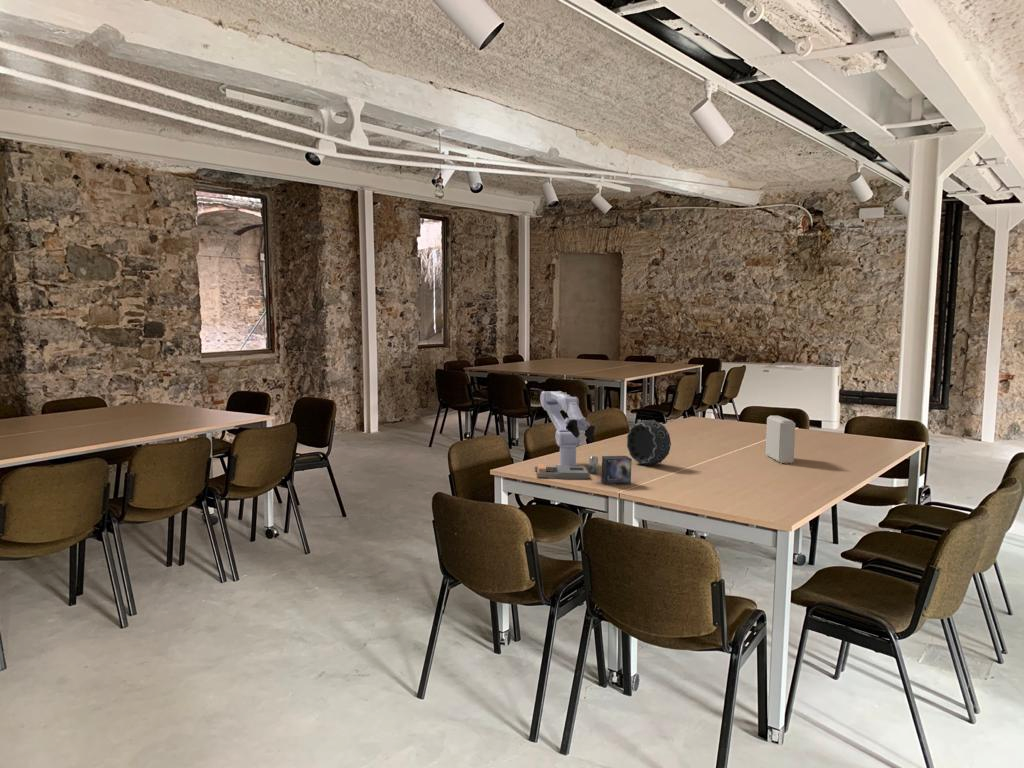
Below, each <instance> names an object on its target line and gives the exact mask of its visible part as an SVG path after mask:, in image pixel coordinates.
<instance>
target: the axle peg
mask: <svg viewBox="0 0 1024 768" xmlns="http://www.w3.org/2000/svg"><path fill="white" fill-rule="evenodd" d="M588 461H589V462H588V464H589V465H588V468H589V469H588V473H590V474H589V475H598V474H599V471H598V470H599V457H598V456H594V455H591V456H589V460H588ZM597 473H598V474H597Z"/></svg>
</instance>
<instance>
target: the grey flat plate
mask: <svg viewBox="0 0 1024 768" xmlns="http://www.w3.org/2000/svg"><path fill="white" fill-rule="evenodd" d="M535 471H537V466H534V472H535ZM546 471H548V472H546V473H538V472H536V475H535V476H536V478H537V477H552V478H551V479H559V478H560V480H589V475H590V474H589V470H588V469H587V468H586V466H585V465H584V464H583V465H580V464H579V465H578V464H576V465H558V464H556V465H555V466H546ZM549 471H550V472H549Z"/></svg>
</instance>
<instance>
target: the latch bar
mask: <svg viewBox="0 0 1024 768" xmlns="http://www.w3.org/2000/svg"><path fill="white" fill-rule="evenodd" d="M536 467H537V472H538V473H547V472H546V467H547V466H546V464H545V463H537V465H536ZM537 472H536V473H537Z"/></svg>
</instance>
